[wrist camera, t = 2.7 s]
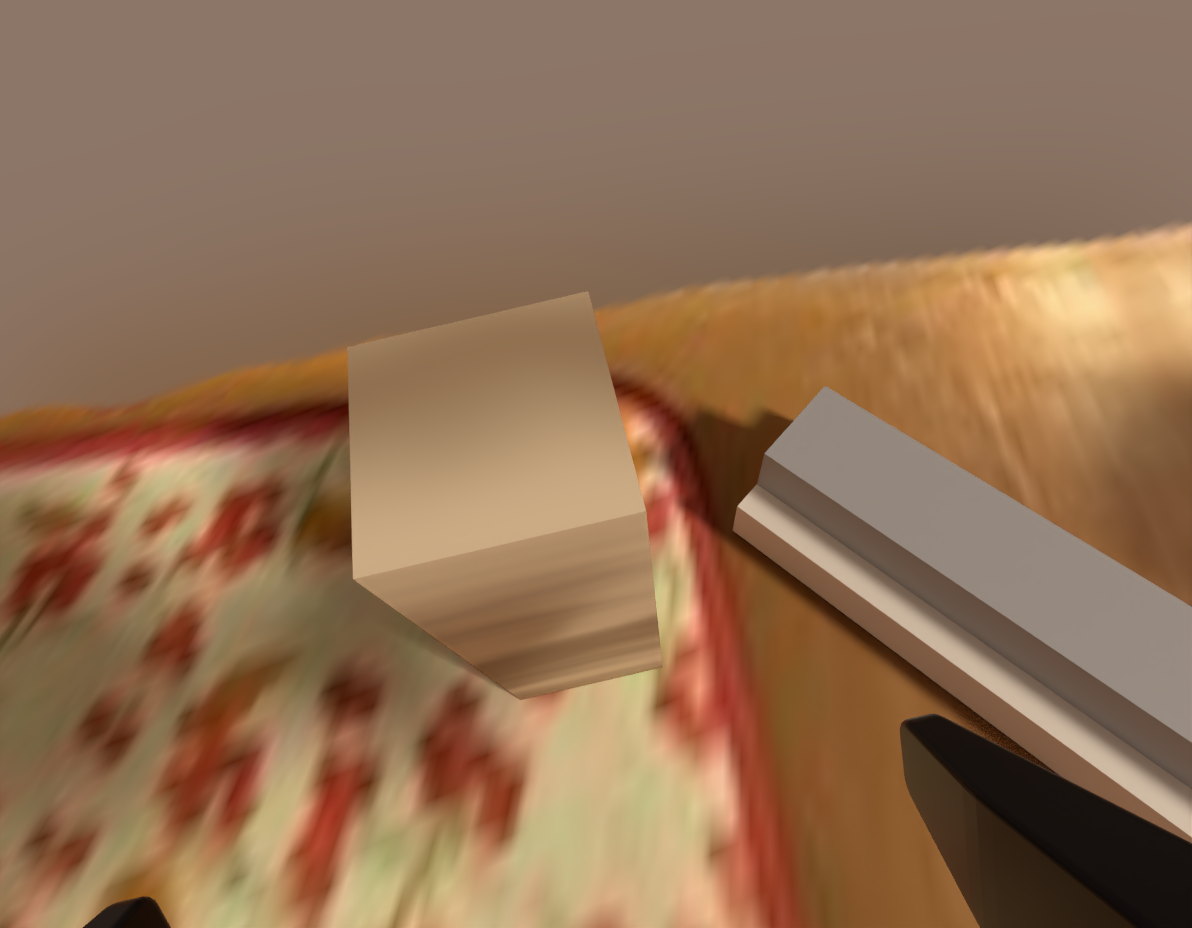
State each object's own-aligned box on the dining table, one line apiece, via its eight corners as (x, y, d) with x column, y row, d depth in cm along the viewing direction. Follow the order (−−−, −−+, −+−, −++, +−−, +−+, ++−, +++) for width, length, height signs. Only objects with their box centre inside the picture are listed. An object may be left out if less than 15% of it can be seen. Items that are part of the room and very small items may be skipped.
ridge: (1341, 763, 17) (1509, 751, 14) (1266, 930, 16) (1432, 963, 12) (819, 431, 24) (844, 364, 20) (732, 530, 22) (743, 477, 19)
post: (662, 667, 20) (646, 510, 10) (520, 699, 20) (353, 579, 10) (630, 535, 23) (588, 290, 12) (501, 564, 23) (347, 347, 12)
